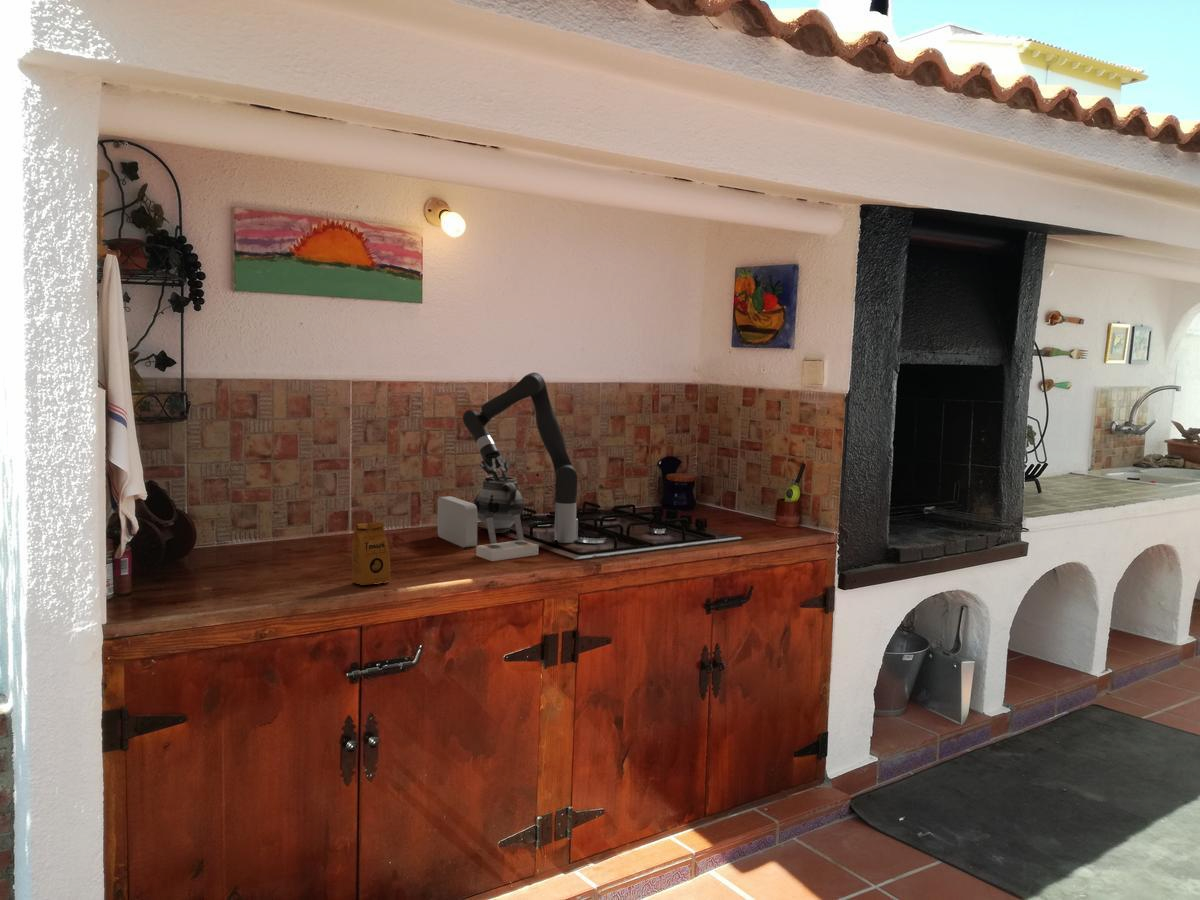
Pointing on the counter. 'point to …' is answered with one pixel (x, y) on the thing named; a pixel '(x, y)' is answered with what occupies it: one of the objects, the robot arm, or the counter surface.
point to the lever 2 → (518, 523)
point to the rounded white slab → (457, 521)
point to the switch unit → (507, 550)
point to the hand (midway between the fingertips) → (502, 480)
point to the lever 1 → (490, 527)
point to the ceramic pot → (499, 502)
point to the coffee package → (370, 554)
